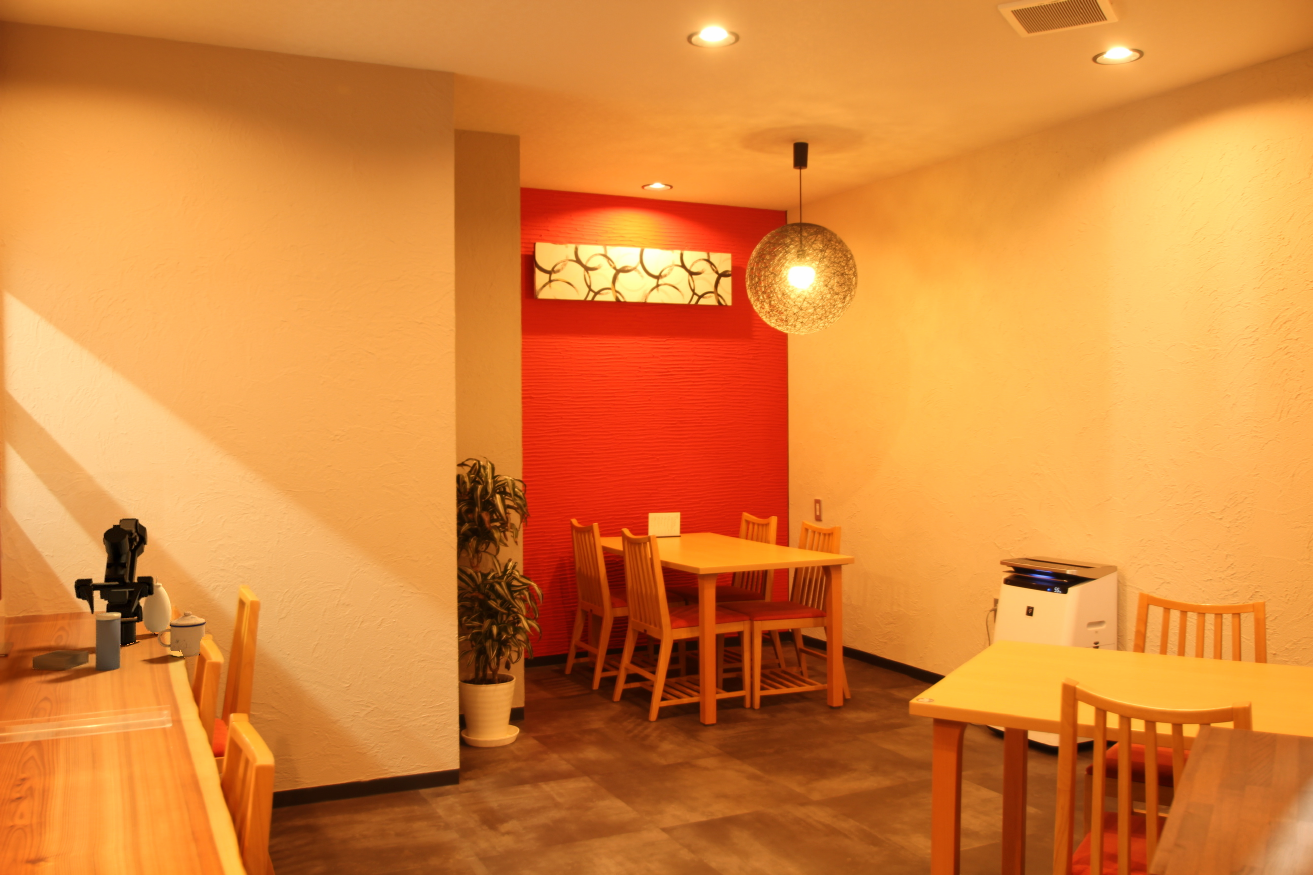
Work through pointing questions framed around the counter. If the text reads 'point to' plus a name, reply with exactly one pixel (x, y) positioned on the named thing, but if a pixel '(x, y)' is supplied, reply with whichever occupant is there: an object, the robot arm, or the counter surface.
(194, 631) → the teacup with lid
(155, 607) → the sauce bottle
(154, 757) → the counter surface
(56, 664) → the stand
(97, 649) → the canister
